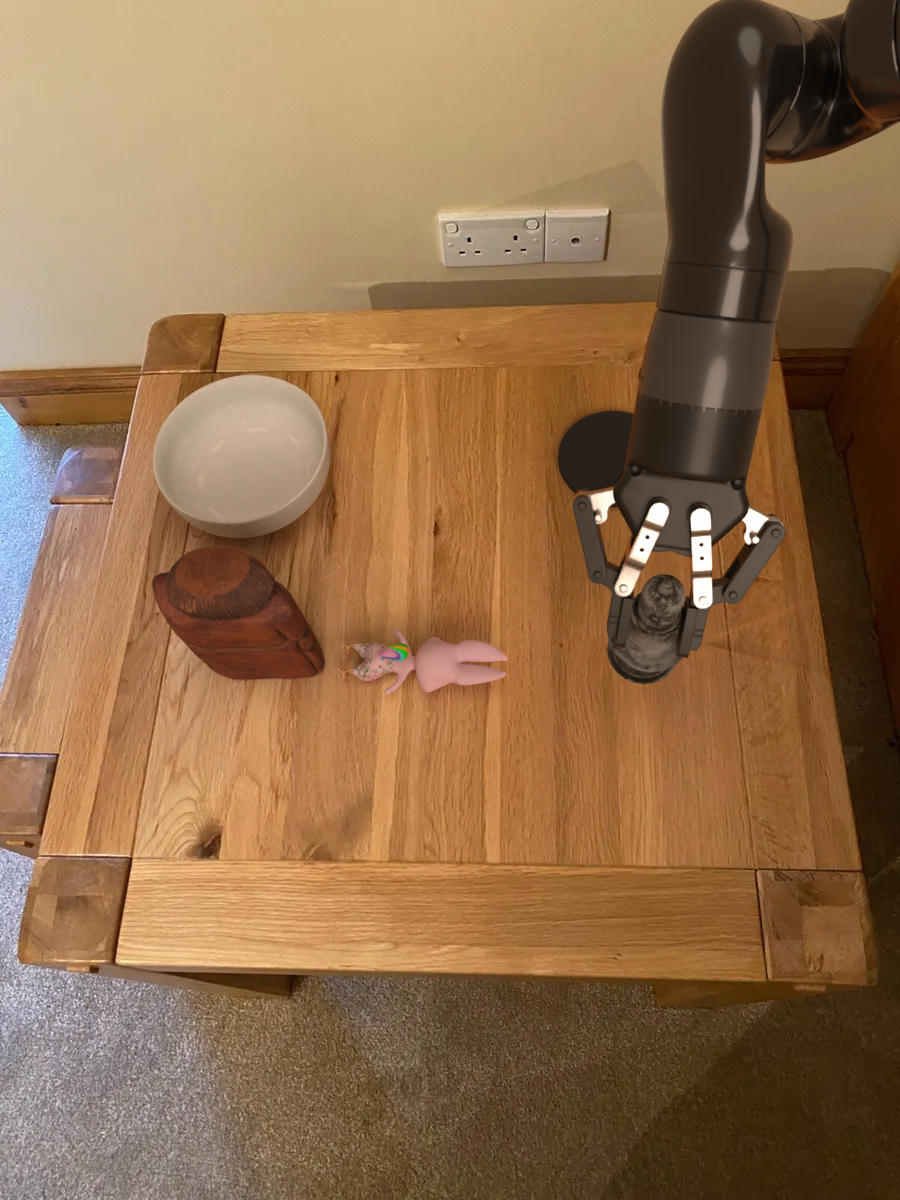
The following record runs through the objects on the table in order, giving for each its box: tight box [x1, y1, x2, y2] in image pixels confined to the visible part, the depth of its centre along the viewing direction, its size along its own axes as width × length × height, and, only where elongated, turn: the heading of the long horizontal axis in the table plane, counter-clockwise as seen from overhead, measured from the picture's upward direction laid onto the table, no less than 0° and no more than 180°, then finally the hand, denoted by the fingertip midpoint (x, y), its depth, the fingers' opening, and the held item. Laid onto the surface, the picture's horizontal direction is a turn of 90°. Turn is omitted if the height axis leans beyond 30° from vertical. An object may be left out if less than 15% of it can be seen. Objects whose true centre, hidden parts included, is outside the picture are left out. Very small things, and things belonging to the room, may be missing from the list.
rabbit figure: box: [337, 628, 509, 696], centre depth 78 cm, size 6×6×15 cm
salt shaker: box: [606, 573, 687, 685], centre depth 61 cm, size 6×6×12 cm
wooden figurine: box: [151, 545, 326, 681], centre depth 74 cm, size 12×6×18 cm, turn 89°
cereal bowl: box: [152, 374, 332, 539], centre depth 86 cm, size 17×17×7 cm
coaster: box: [557, 410, 634, 508], centre depth 88 cm, size 11×11×1 cm
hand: (651, 646), depth 60 cm, fingers closed on salt shaker, 3 cm apart
